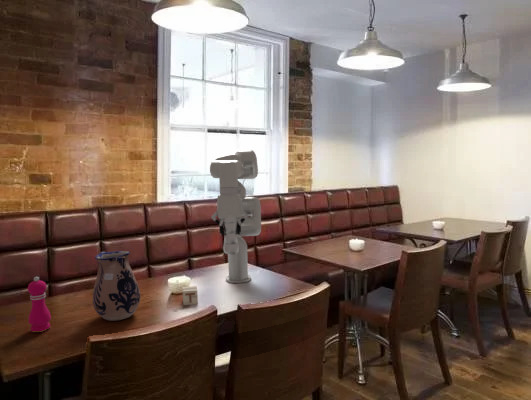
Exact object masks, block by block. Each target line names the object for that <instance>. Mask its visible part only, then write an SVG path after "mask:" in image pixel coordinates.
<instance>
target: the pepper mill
mask: <svg viewBox="0 0 531 400" xmlns="http://www.w3.org/2000/svg"><path fill="white" fill-rule="evenodd" d="M47 287H48V285H47V283H46V282H45V281H43V280H40V276H34V277H33V281H31V282H30V283H29V284H28V286H27V291H28V293H29V294H30V295H29V298H30V300H31V309H30V313H29V315H28V323H29V324H30V325H31V326H30V332H31V331H42V330H45V329H48V328H49V327H50V328H51V323H50V320H51V319H52V316H51V312H50V309H48V307H47V305H46V300H45V299H46V297H47V293H46V290H47Z"/></svg>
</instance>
